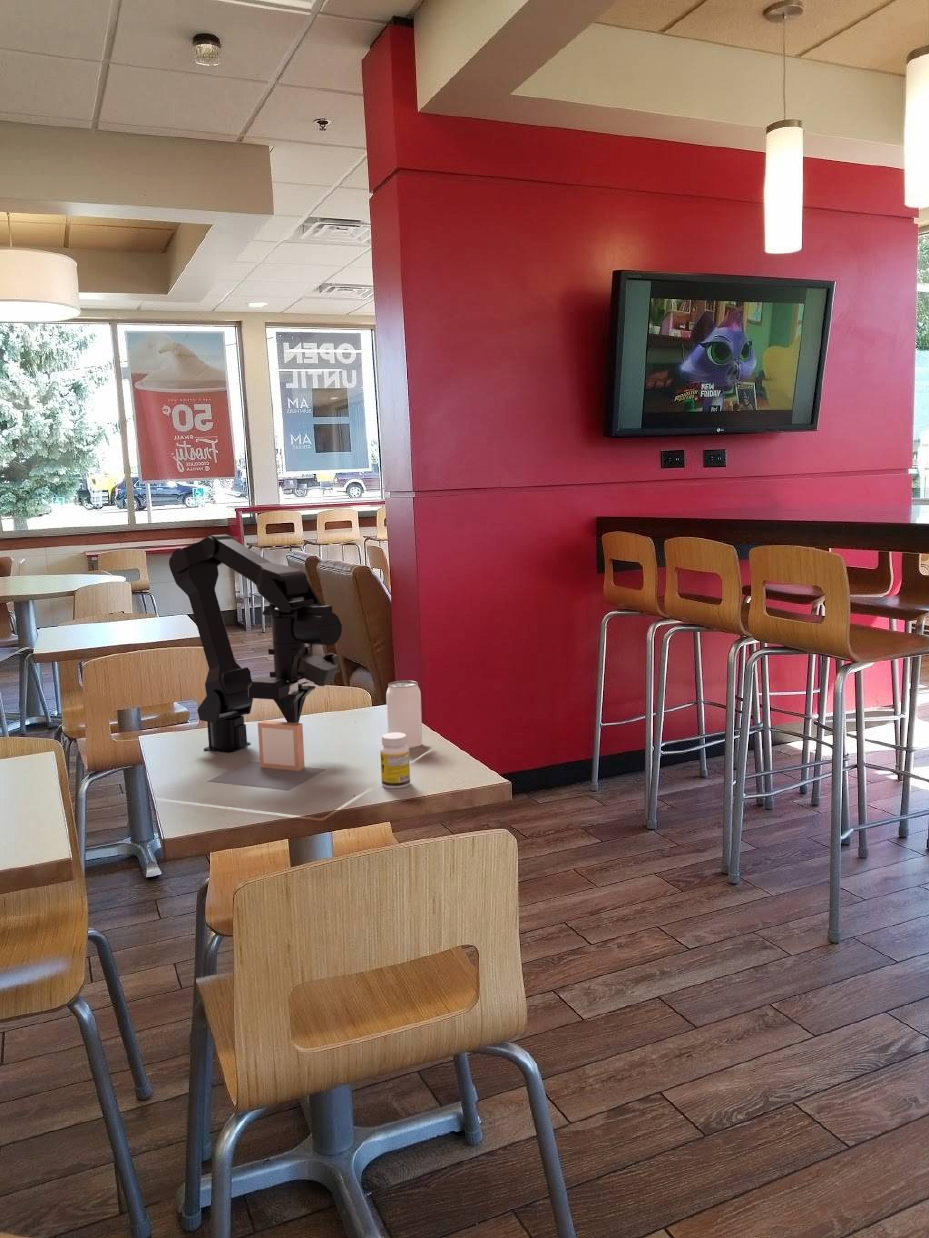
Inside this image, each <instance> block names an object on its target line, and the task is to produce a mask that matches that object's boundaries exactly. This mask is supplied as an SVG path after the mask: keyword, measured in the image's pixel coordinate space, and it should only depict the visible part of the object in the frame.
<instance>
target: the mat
mask: <svg viewBox="0 0 929 1238" xmlns="http://www.w3.org/2000/svg"><path fill="white" fill-rule="evenodd" d="M326 770H327V768H319V767H311V766H310V767H309V766H305V768H304V769H302V770H300V771H294V770H284V769H275V768H265V767H260V761H247V762H245V763H243V764H240V765H238V766H237V767H234V768H232V769H230V770H228V771H226V772H223V773H221V774H219V775H217V776H215V777H213V778H211V779H209V780H208V782H212V783H219V784H220V783H221V784H228V785H234V786H235V785H236V786H247V787H256V788H265V789H272V790H281V791H290V790H292V789H294V788H295V787H297V786H299V785H301V784H303V783H304V782H306V781H308V780H309V779H312V778H313V777H315V776H317V775H319V774H320V773H322V772H323V773H324V772H325V771H326Z"/></svg>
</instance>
